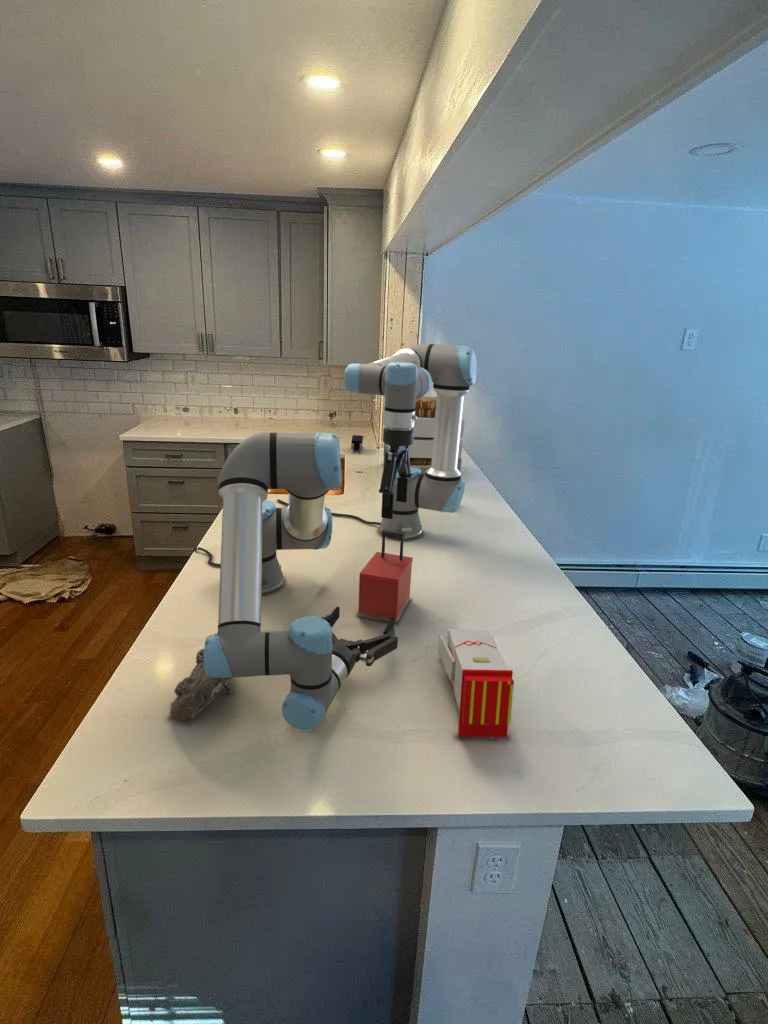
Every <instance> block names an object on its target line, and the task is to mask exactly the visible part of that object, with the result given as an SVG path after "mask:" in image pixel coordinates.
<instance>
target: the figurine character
mask: <svg viewBox="0 0 768 1024" xmlns="http://www.w3.org/2000/svg"><path fill="white" fill-rule="evenodd" d="M363 441H364V435H360V434H359V435H357V434H352V435H351V443H350V450H351V451H352V450H353V451H352V453H355V452H358V454H360V453H361V451H362V450H363V448H364V446H363V443H364V442H363Z"/></svg>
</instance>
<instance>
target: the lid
mask: <svg viewBox="0 0 768 1024" xmlns="http://www.w3.org/2000/svg"><path fill="white" fill-rule="evenodd" d="M380 535H381V551H376V552H374V554H373V556H372V557H371V558H370V560H368V562H367V563H366V565H364V567H363V568H362V569H361V570H360V572H359V577H362V578H368V579H373V580H379V581H384V582H390V583H396V584H399V582H400V581H401V579H402V577H403V576H404V574H405V573H406V571H407V569H408V568H409V566H410V565H411V563H412V564H413V562H414V561H413V560H414V557H411V556H405V555H404V541H405V540H404V538H405V533H403V532H397V531H390V530H384V529H383V530H382V532H381V534H380ZM386 538H387V539H390V538H394V539H393V540H395V539H400V540H399V543H400V544H399V554H393V553H387V552H386Z"/></svg>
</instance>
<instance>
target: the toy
mask: <svg viewBox="0 0 768 1024" xmlns="http://www.w3.org/2000/svg"><path fill="white" fill-rule="evenodd" d="M446 640H447V643H446V641H445V639H444V636H443V635H442V634H439V637H438V646H437V656H438V657H439V659H440V661H441V663H442V666H443V668H444V670H445V672H446V674H447V677H448V679H449V681H450V684H451V687H452V690H453V693H454V697H455V701H456V705H457V708H458V711H459V714H458V715H459V716H458V730H457V731H458V732H457V737H458V738H508V731H509V726H510V725H511V717H512V707H513V697H514V696H513V695H514V684H515V680H514V679H513V673H514V671H513V670H512V669H508V667H507V665H506V662H505V661H504V659H503V658H502V655H501V653H500V651H499V649H498V647H497V643H496V639H495V637H494V635H493V634H491V632H490V631H489V629H467V628H466V629H465V628H463V629H461V628H460V629H459V628H448V630H447V639H446Z"/></svg>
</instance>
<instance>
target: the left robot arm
mask: <svg viewBox="0 0 768 1024" xmlns="http://www.w3.org/2000/svg"><path fill="white" fill-rule="evenodd" d="M339 439H340V438H339V437H338V436H337V435H336V434H335V433H330V432H329V433H328V432H323V431H318V432H270V431H265V432H264V431H263V432H258V433H254V434H252V435H250V436H248V437H246V438H245V439H244V440H242V441H241V442H240V443H238V444H237V445H236V446H235V448H234V449H233V450H232V451H231V453H230V454H229V455H228V457H227V458H226V460H225V462H224V463H223V466H222V468H221V471H220V474H219V478H218V488H217V496H218V498H219V500H220V501H222V515H221V516H222V517H221V541H220V542H221V543H220V563H217V562H213V561H212V559H213V553H211V552H210V551H208V550H207V549H205V548H203V547H198V546H197V547H195V548H193V550H192V551H193V552H196V551H198V550H199V551H202V552H204V553H206V554H207V555H208V556H209V558H208V560H207V561H208V564H209V565H212V566H215V567H220V569H219V570H220V571H219V593H218V594H219V595H218V621H217V633H214V634H209V635H207V636H206V638H205V641H204V648H203V649H204V668H205V672H206V674H207V675H208V676H209V677H210V678H232V679H231V680H233V679H236V678H249V677H264V676H266V677H267V676H285V675H287V676H288V675H290V676H289V677H290V689H289V690H290V691H289V693H288V694H286V696H285V698H284V700H283V702H282V704H281V714H282V717H283V719H284V720H285V722H286V723H287V724H288V725H289V726H290V727H292V728H293V729H295V730H299V731H302V732H303V731H304V732H306V731H307V732H308V731H311V730H313V729H316V727H318V726H319V724H320V722H322V719H323V718H325V717H326V715H327V712H328V710H329V709H330V707H331V705H332V703H333V702H334V700H335V698H336V697H337V695H338V694H339V692H340V690H341V689H342V687H343V686H344V684H345V683H346V680H347V679H348V677H349V676H350V674H351V673H352V670H353V669H354V667H355V665H356V663H359V662H360V661H361V662H364V663H365V666H366V667H371V666H372V665H373V664H374V663H375V662H376V661H378V660H380V659H382V658H383V657H384V656H387V655H388V654H389V653H392V652H393V651H395V650H397V649H398V645H399V636H396V635H395V634H396V628H395V625H396V623H395V618H393V617H392V618H391V619H390V621H389V622H387V625H386V626H385V628H384V630H383V633H382V634H381V635H377V636H374V637H371V638H368V639H365V640H363V639H358V640H355V641H354V640H349V639H348V640H347V639H345V638H338V637H337V635H336V634H335V633H334V632H333V629H332V628H333V627H334V626H335V624H336V623H337V621H338V620H339V619H340V617H341V615H340V612H341V607H340V606H336V607H334V609H333V610H332V612H331V613H330V614H326V615H325V616H322V617H319V616H315V615H305V616H303V617H298V618H296V619H295V620H293V621H292V622H291V624H290V626H289V629H288V630H284V631H283V630H282V631H267V632H266V631H265V632H264V631H263V632H262V595H267V594H271V593H273V592H276V591H277V590H279V589H280V588H281V587H282V586H283V584H284V581H285V580H284V579H285V578H284V573H283V571H282V568H283V567H282V564H280V562H279V559H278V557H277V556H278V555H277V551H286V550H287V551H288V550H289V551H291V550H316V551H317V550H323V549H327V548H328V547H329V546H330V543H331V541H332V534H333V515H332V514H331V513H332V511H331V509H330V508H329V507H326V506H324V505H325V497H326V495H327V494H328V493H329V492H330V491H333V490H337V489H340V488H341V487H342V482H343V481H342V479H343V477H342V459H341V448H340V447H341V446H340V440H339ZM269 490H286V492H287V493H288V504H289V506H287V507H277V505H276V503H275V502H273V501H271V500H267V499H268V497H269V495H268V493H269V492H268V491H269ZM197 548H198V549H197Z"/></svg>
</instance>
